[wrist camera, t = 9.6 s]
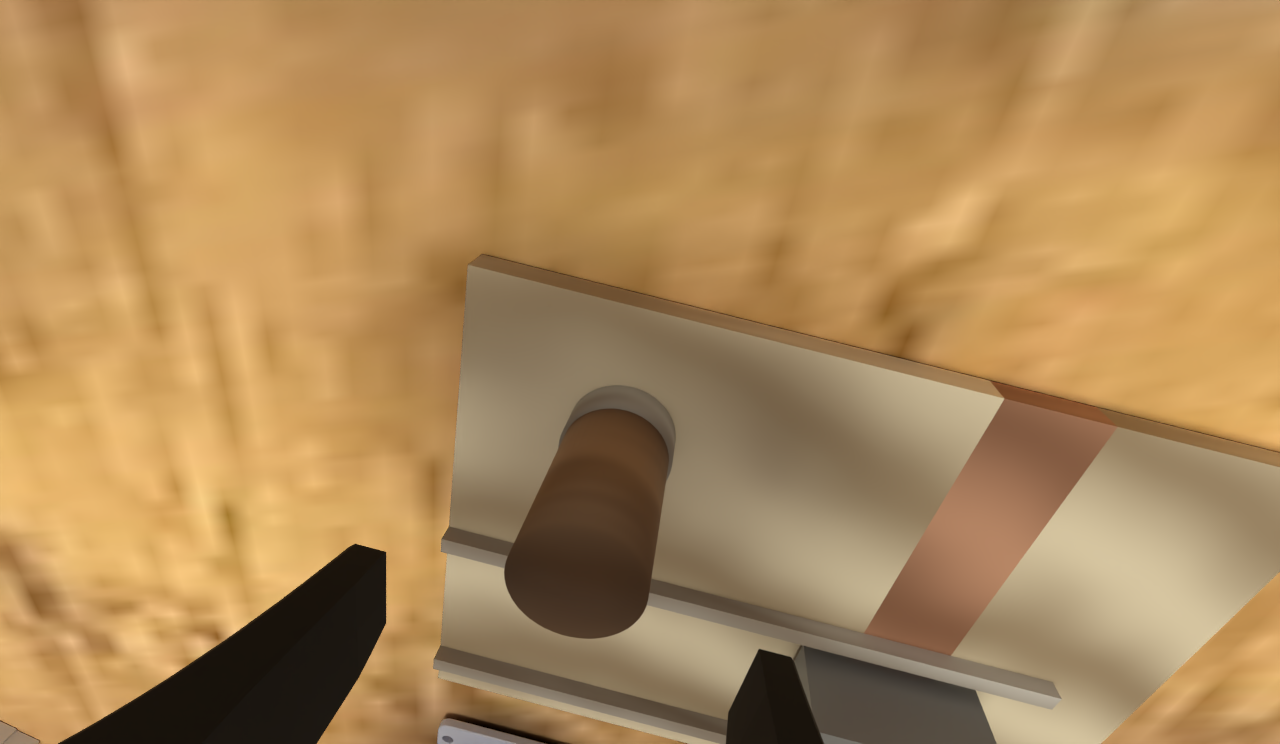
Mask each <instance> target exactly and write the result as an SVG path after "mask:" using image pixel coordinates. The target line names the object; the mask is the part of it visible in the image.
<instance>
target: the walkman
mask: <svg viewBox="0 0 1280 744" xmlns="http://www.w3.org/2000/svg"><path fill="white" fill-rule="evenodd" d="M0 744H39V740H37V739H34V738H32V737H30V736H28V735H26V734H23V733H21V732H19V731H17V729H16V728H14V727H12V726H10V725H7V724H5V723H3V722H1V721H0Z"/></svg>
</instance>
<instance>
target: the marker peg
mask: <svg viewBox="0 0 1280 744" xmlns="http://www.w3.org/2000/svg"><path fill="white" fill-rule="evenodd" d="M675 441H676V431H675V426H674V423H673V420H672V418H671V416H670V414H669V412H668V411H667V409H666V408H665V407H664V406H663V405H662V404H661V402H659V401H658V400H657V399H656V398H655V397H653V396H652V395H650V394H649V393H647V392H645V391H643V390H640V389H637V388H634V387H629V386H622V385H612V386H605V387H601V388H598V389H596V390H593V391H591V392H590V393H588V394H586V395H585V396H584V397H583V398H581V400H580V401H579V402H578V403H577V404H576V406H575V407H574V409H573V411H572V413H571V415H570V417H569V419H568V421H567V423H566V425H565V427H564V429H563V431H562V433H561V436H560V439H559V445H558V450H557V453H556V455H555V457H554V459H553V461H552V463H551V465H550V467H549V470H548V472H547V474H546V476H545V478H544V480H543V482H542V485H541V487H540V489H539V491H538V493H537V495H536V497H535V499H534V502H533V504H532V506H531V508H530V510H529V512H528V514H527V516H526V519H525V521H524V523H523V525H522V527H521V529H520V531H519V533H518V536H517V538H516V540H515V542H514V544H513V546H512V548H511V550H510V553H509V555H508V557H507V560H506V563H505V568H504V579H505V584H506V587H507V590H508V593H509V595H510V596H511V598H512V600H513V601H514V603H515V604H516V606H517V607H518V608H519V609H520V610H521V611H522V612H523V613H524V614H525V615H526V616H527V617H528V618H529V619H531V620H532V621H534V622H535V623H537V624H538V625H540V626H542V627H543V628H545V629H548V630H550V631H552V632H555V633H558V634H561V635H564V636H568V637H574V638H582V639H597V638H604V637H608V636H612V635H615V634H618V633H620V632H622V631H624V630H626V629H628V628H629V627H631V626H632V625H633V624H634V623H635V622H636V621H637V620H638V619H639V618H640V617H641V615H642V614H643V612H644V610H645V608H646V606H647V602H648V598H649V591H650V585H651V578H652V571H653V565H654V558H655V551H656V545H657V538H658V531H659V525H660V518H661V512H662V505H663V498H664V492H665V485H666V481H667V479H668V477H669V475H670V472H671V468H672V463H673V456H674V449H675Z"/></svg>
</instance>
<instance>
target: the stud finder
mask: <svg viewBox="0 0 1280 744" xmlns="http://www.w3.org/2000/svg"><path fill="white" fill-rule="evenodd" d="M794 662H795V665H796V668H797V671H798V674H799V677H800V680H801V683H802V686H803V688H804V691H805V694H806V697H807V700H808V702H809V705H810V708H811V710H812V713H813V716H814V718H815V721H816V724H817V726H818V729H819V731H820V734H821V737H822V739H823V742H824V744H997V743H996V741H995V738H994V736H993V733H992V731H991V728H990V725H989V723H988V720H987V718H986V715H985V713H984V710H983V708H982V705H981V703H980V700H979V698H978V695H977V693H976V690H973V689H969V688H966V687H962V686H958V685H954V684H950V683H946V682H942V681H938V680H935V679H931V678H927V677H923V676H919V675H915V674H911V673H908V672H904V671H900V670H896V669H892V668H888V667H884V666H880V665H877V664H873V663H869V662H865V661H861V660H857V659H853V658H850V657H846V656H842V655H838V654H834V653H830V652H826V651H822V650H819V649H815V648H811V647H807V646H802V648H801V650H800V652H799V654H798V655H797V657H796V659H795V661H794Z"/></svg>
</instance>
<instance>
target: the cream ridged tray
mask: <svg viewBox="0 0 1280 744" xmlns="http://www.w3.org/2000/svg"><path fill="white" fill-rule="evenodd" d="M612 385H622V386H629V387H634V388H637V389H640V390H643V391H645V392H647V393H649V394H650V395H652V396H653V397H655V398H656V399H657V400H658V401H659V402H661V404H662V405H663V406H664V407H665V408H666V409H667V411H668V412H669V414H670V416H671V418H672V420H673V423H674V426H675V431H676V441H675V449H674V456H673V463H672V468H671V472H670V475H669V477H668V479H667V481H666V485H665V492H664V498H663V505H662V512H661V518H660V525H659V531H658V538H657V545H656V551H655V558H654V565H653V571H652V578H651V585H650V591H649V598H648V602H647V606H646V608H645V610H644V612H643V614H642V615H641V617H640V618H639V619H638V620H637V621H636V622H635V623H634V624H633V625H632V626H631V627H629V628H628V629H626V630H624V631H622V632H620V633H618V634H615V635H612V636H608V637H604V638H597V639H582V638H574V637H568V636H564V635H561V634H558V633H555V632H552V631H550V630H548V629H545V628H543V627H542V626H540V625H538V624H537V623H535V622H534V621H532V620H531V619H529V618H528V617H527V616H526V615H525V614H524V613H523V612H522V611H521V610H520V609H519V608H518V607H517V606H516V604H515V603H514V601H513V600H512V598H511V596H510V595H509V593H508V590H507V587H506V584H505V579H504V568H505V563H506V560H507V557H508V555H509V553H510V550H511V548H512V546H513V544H514V542H515V540H516V538H517V536H518V533H519V531H520V529H521V527H522V525H523V523H524V521H525V519H526V516H527V514H528V512H529V510H530V508H531V506H532V504H533V502H534V499H535V497H536V495H537V493H538V491H539V489H540V487H541V485H542V482H543V480H544V478H545V476H546V474H547V472H548V470H549V467H550V465H551V463H552V461H553V459H554V457H555V455H556V453H557V450H558V445H559V439H560V436H561V433H562V431H563V429H564V427H565V425H566V423H567V421H568V419H569V417H570V415H571V413H572V411H573V409H574V407H575V406H576V404H577V403H578V402H579V401H580V400H581V398H583V397H584V396H585V395H586V394H588V393H590V392H591V391H593V390H596V389H598V388H601V387H605V386H612ZM441 552H443V553H447V563H446V577H445V591H444V605H443V619H442V633H441V646H440V648H439V650H438V652H437V654H436V656H435V658H434V665H433V669H437V670H439V674H438V678H440V679H444V680H448V681H452V682H456V683H459V684H463V685H467V686H471V687H475V688H478V689H482V690H486V691H490V692H494V693H497V694H501V695H505V696H509V697H513V698H516V699H520V700H524V701H528V702H532V703H536V704H539V705H543V706H547V707H551V708H555V709H558V710H562V711H566V712H570V713H574V714H577V715H581V716H585V717H589V718H593V719H596V720H600V721H604V722H608V723H612V724H616V725H619V726H623V727H627V728H631V729H635V730H638V731H642V732H646V733H650V734H654V735H657V736H661V737H665V738H669V739H673V740H676V741H680V742H684V743H688V744H726V735H727V722H728V712H729V710H730V708H731V706H732V704H733V701H734V699H735V697H736V695H737V693H738V691H739V689H740V687H741V685H742V683H743V681H744V679H745V676H746V674H747V672H748V670H749V668H750V666H751V664H752V662H753V660H754V658H755V656H756V654H757V652H758V649H762V650H766V651H770V652H774V653H778V654H782V655H786V656H789V657H791V658H792V659H793V661H795V659H796V657H797V655H798V654H799V652H800V650H801V648H802V646H807V647H811V648H815V649H819V650H822V651H826V652H830V653H834V654H838V655H842V656H846V657H850V658H853V659H857V660H861V661H865V662H869V663H873V664H877V665H880V666H884V667H888V668H892V669H896V670H900V671H904V672H908V673H911V674H915V675H919V676H923V677H927V678H931V679H935V680H938V681H942V682H946V683H950V684H954V685H958V686H962V687H966V688H969V689H973V690H976V693H977V695H978V698H979V700H980V703H981V705H982V708H983V710H984V713H985V715H986V718H987V720H988V723H989V725H990V728H991V731H992V733H993V736H994V738H995V741H996V743H997V744H1101V743H1102V742H1103V741H1104V740H1105V739H1106V738H1107V737H1108V736H1109V735H1110V734H1111V733H1112V732H1113V731H1115V730H1116V729H1117V728H1118V727H1119V726H1120V725H1121V724H1122V723H1123V722H1124V721H1125V720H1126V719H1127V718H1128V717H1129V716H1130V715H1131V714H1132V713H1133V712H1134V711H1135V710H1136V709H1137V708H1138V707H1140V706H1141V705H1142V704H1143V703H1144V702H1145V701H1146V700H1147V699H1148V698H1149V697H1150V696H1151V695H1152V694H1153V693H1154V692H1155V691H1156V690H1157V689H1158V688H1159V687H1160V686H1161V685H1162V684H1163V683H1164V682H1166V681H1167V680H1168V679H1169V678H1170V677H1171V676H1172V675H1173V674H1174V673H1175V672H1176V671H1177V670H1178V669H1179V668H1180V667H1181V666H1182V665H1183V664H1184V663H1185V662H1186V661H1187V660H1188V659H1189V658H1190V657H1192V656H1193V655H1194V654H1195V653H1196V652H1197V651H1198V650H1199V649H1200V648H1201V647H1202V646H1203V645H1204V644H1205V643H1206V642H1207V641H1208V640H1209V639H1210V638H1211V637H1212V636H1213V635H1214V634H1215V633H1216V632H1218V631H1219V630H1220V629H1221V628H1222V627H1223V626H1224V625H1225V624H1226V623H1227V622H1228V621H1229V620H1230V619H1231V618H1232V617H1233V616H1234V615H1235V614H1236V613H1237V612H1238V611H1239V610H1240V609H1241V608H1243V607H1244V606H1245V605H1246V604H1247V603H1248V602H1249V601H1250V600H1251V599H1252V598H1253V597H1254V596H1255V595H1256V594H1257V593H1258V592H1259V591H1260V590H1261V589H1262V588H1263V587H1264V586H1265V585H1266V584H1267V583H1269V582H1270V581H1271V580H1272V579H1273V578H1274V577H1275V576H1276V575H1277V574H1278V573H1279V572H1280V453H1278V452H1274V451H1270V450H1266V449H1262V448H1258V447H1254V446H1250V445H1246V444H1242V443H1238V442H1234V441H1230V440H1226V439H1222V438H1218V437H1214V436H1210V435H1206V434H1202V433H1198V432H1194V431H1190V430H1186V429H1182V428H1178V427H1174V426H1170V425H1166V424H1162V423H1158V422H1154V421H1150V420H1146V419H1142V418H1138V417H1134V416H1130V415H1126V414H1122V413H1118V412H1114V411H1110V410H1106V409H1102V408H1098V407H1094V406H1090V405H1086V404H1082V403H1078V402H1074V401H1070V400H1066V399H1062V398H1058V397H1054V396H1050V395H1046V394H1042V393H1038V392H1034V391H1030V390H1026V389H1022V388H1017V387H1013V386H1009V385H1005V384H1001V383H997V382H993V381H989V380H985V379H981V378H977V377H973V376H969V375H965V374H961V373H957V372H953V371H949V370H945V369H941V368H937V367H933V366H929V365H925V364H921V363H917V362H913V361H909V360H905V359H901V358H897V357H893V356H889V355H885V354H881V353H877V352H873V351H869V350H865V349H861V348H857V347H853V346H849V345H845V344H841V343H837V342H833V341H829V340H825V339H821V338H817V337H813V336H809V335H805V334H801V333H797V332H793V331H789V330H785V329H781V328H777V327H773V326H769V325H765V324H760V323H756V322H752V321H748V320H744V319H740V318H736V317H732V316H728V315H724V314H720V313H716V312H712V311H708V310H704V309H700V308H696V307H692V306H688V305H684V304H680V303H676V302H672V301H668V300H664V299H660V298H656V297H652V296H648V295H644V294H640V293H636V292H632V291H628V290H624V289H620V288H616V287H612V286H608V285H604V284H600V283H596V282H592V281H588V280H584V279H580V278H576V277H572V276H568V275H564V274H560V273H556V272H552V271H548V270H544V269H540V268H536V267H532V266H528V265H524V264H520V263H516V262H512V261H508V260H503V259H499V258H495V257H491V256H487V255H483V254H481V255H480V256H479V257H477V258H476V259H475V260H473V261H472V262H471V263H470V264H468V270H467V284H466V298H465V312H464V326H463V340H462V354H461V368H460V382H459V396H458V410H457V423H456V437H455V451H454V465H453V479H452V493H451V507H450V521H449V528H448V529H447V531H446V533H445V534H444V536H443V538H442V541H441Z"/></svg>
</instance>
